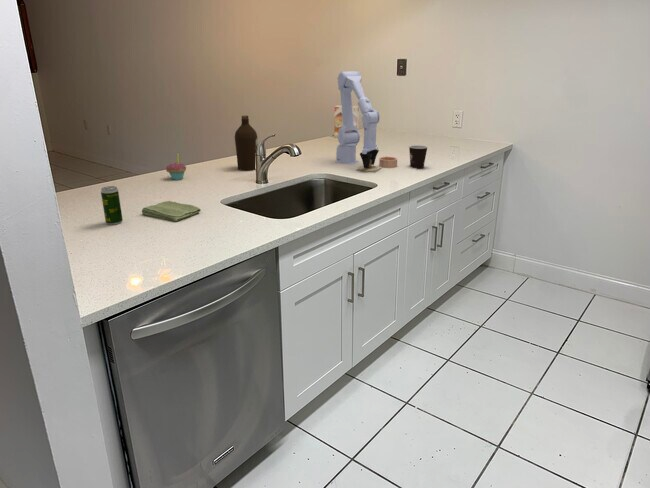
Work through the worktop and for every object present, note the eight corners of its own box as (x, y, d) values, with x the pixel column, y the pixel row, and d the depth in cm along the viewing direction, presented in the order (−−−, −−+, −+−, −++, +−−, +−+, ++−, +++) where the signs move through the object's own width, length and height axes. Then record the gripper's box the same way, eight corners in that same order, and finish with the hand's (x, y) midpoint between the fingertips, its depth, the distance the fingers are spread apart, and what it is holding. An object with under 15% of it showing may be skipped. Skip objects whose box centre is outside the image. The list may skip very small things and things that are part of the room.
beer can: (117, 219, 175) (112, 185, 170) (126, 222, 172) (121, 187, 167) (102, 223, 171) (97, 188, 167) (111, 226, 168) (105, 191, 163)
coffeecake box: (334, 137, 330) (334, 106, 323) (335, 135, 336) (335, 105, 329) (357, 138, 327) (357, 106, 320) (358, 136, 334) (359, 105, 327)
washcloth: (177, 224, 171) (176, 215, 170) (139, 216, 179) (138, 207, 178) (203, 213, 182) (202, 205, 181) (167, 206, 190) (166, 198, 189)
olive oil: (239, 171, 240) (235, 117, 231) (234, 167, 249) (231, 114, 240) (261, 170, 243) (258, 116, 234) (256, 165, 252) (253, 113, 243)
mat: (355, 171, 241) (355, 170, 241) (362, 167, 250) (362, 166, 250) (375, 173, 238) (375, 172, 237) (382, 169, 246) (382, 168, 246)
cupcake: (190, 177, 230) (188, 150, 226) (179, 181, 223) (177, 154, 218) (174, 175, 233) (171, 149, 228) (163, 180, 225) (160, 153, 221)
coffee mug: (425, 169, 245) (427, 149, 241) (407, 168, 246) (408, 148, 243) (426, 164, 255) (427, 144, 252) (408, 163, 257) (410, 144, 253)
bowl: (376, 167, 249) (377, 159, 247) (382, 164, 256) (382, 156, 255) (393, 169, 245) (394, 161, 244) (398, 165, 253) (399, 157, 251)
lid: (355, 170, 241) (356, 160, 240) (363, 166, 250) (363, 156, 248) (374, 172, 238) (375, 162, 236) (381, 168, 246) (382, 158, 244)
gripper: (372, 140, 230) (371, 170, 235) (383, 136, 243) (381, 164, 248) (358, 139, 233) (357, 168, 238) (369, 134, 245) (368, 162, 250)
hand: (368, 166), depth 243 cm, fingers open, 7 cm apart
